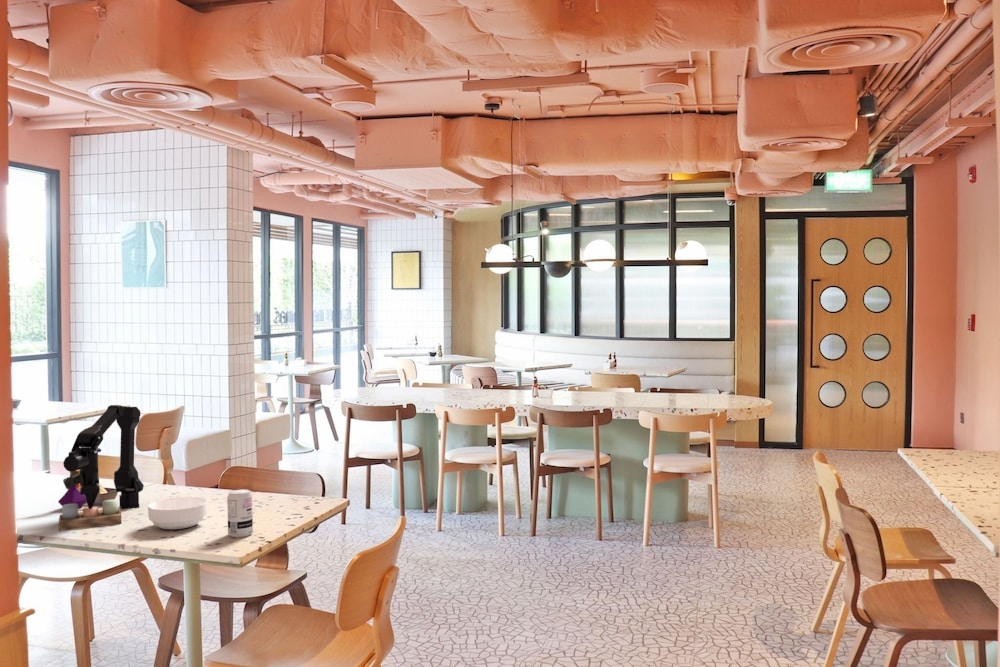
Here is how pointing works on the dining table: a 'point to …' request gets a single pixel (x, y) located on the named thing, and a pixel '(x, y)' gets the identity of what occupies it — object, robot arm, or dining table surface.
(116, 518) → the wooden compartment tray
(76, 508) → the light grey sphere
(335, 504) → the dining table surface
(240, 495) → the supplement can
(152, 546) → the dining table surface
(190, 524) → the bowl
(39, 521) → the dining table surface
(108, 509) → the pale green rounded cube
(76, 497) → the perfume bottle
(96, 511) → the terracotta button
